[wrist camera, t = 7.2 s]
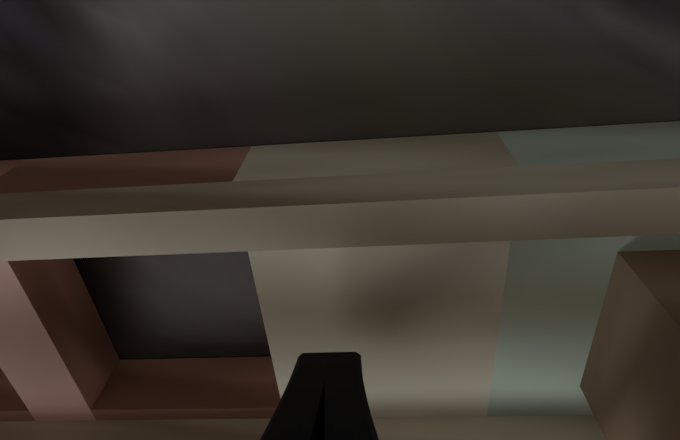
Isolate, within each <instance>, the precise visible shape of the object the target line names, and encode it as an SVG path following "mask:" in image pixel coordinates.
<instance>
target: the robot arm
mask: <svg viewBox="0 0 680 440" xmlns="http://www.w3.org/2000/svg"><path fill="white" fill-rule="evenodd" d="M260 440H379V438H378V435H377V432H376V429H375V426H374V422H373V419H372V416H371V412H370V409H369V405H368V401H367V396H366V392H365V387H364V382H363V375H362V362H361V355H360V354H358V353H357V352H321V353H302V354H301V355H300V356H298V359H297V362H296V365H295V367H294V370H293V372H292V375H291V377H290V380H289V382H288V384H287V387H286V389H285V391H284V393H283V395H282V397H281V400H280V402H279V404H278V406H277V408H276V410H275V412H274V414H273V416H272V418H271V420H270V422H269V424H268V426H267V427H266V429H265V431H264V433H263V435H262V437H261V439H260Z"/></svg>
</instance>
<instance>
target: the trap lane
mask: <svg viewBox="0 0 680 440" xmlns="http://www.w3.org/2000/svg"><path fill="white" fill-rule="evenodd" d="M679 249H680V121H673V122H656V123H639V124H622V125H605V126H588V127H570V128H553V129H536V130H519V131H502V132H485V133H468V134H450V135H433V136H416V137H399V138H382V139H365V140H348V141H330V142H313V143H296V144H279V145H262V146H245V147H228V148H210V149H193V150H176V151H159V152H142V153H125V154H108V155H90V156H73V157H56V158H39V159H22V160H5V161H0V440H260V439H261V437H262V435H263V433H264V431H265V429H266V427H267V426H268V424H269V422H270V420H271V418H272V416H273V414H274V412H275V410H276V408H277V406H278V404H279V402H280V400H281V397H282V395H283V393H284V391H285V389H286V387H287V384H288V382H289V380H290V377H291V375H292V372H293V370H294V367H295V365H296V362H297V359H298V356H300V355H301V354H302V353H321V352H357V353H358V354H360V355H361V362H362V375H363V382H364V387H365V392H366V396H367V401H368V405H369V409H370V412H371V416H372V419H373V422H374V426H375V429H376V432H377V435H378V438H379V440H606V439H605V437H604V435H603V433H602V431H601V429H600V427H599V425H598V423H597V420H596V418H595V416H594V414H593V412H592V410H591V408H590V406H589V404H588V402H587V400H586V398H585V396H584V394H583V392H582V390H581V388H580V383H581V380H582V376H583V372H584V369H585V365H586V362H587V358H588V355H589V351H590V348H591V344H592V341H593V337H594V334H595V330H596V326H597V323H598V319H599V316H600V312H601V309H602V305H603V302H604V298H605V295H606V291H607V287H608V284H609V280H610V277H611V273H612V270H613V266H614V263H615V259H616V256H617V252H626V251H653V250H679ZM244 251H248V254H249V259H250V263H251V268H252V272H253V277H254V281H255V286H256V290H257V295H258V299H259V304H260V308H261V313H262V317H263V322H264V326H265V331H266V335H267V340H268V344H269V349H270V353H271V356H268V357H221V358H175V359H129V360H120V359H119V357H118V354H117V352H116V350H115V348H114V346H113V344H112V342H111V339H110V337H109V335H108V333H107V331H106V329H105V326H104V324H103V322H102V320H101V318H100V316H99V314H98V311H97V309H96V307H95V305H94V303H93V301H92V299H91V296H90V294H89V292H88V290H87V288H86V286H85V283H84V281H83V279H82V277H81V275H80V273H79V271H78V268H77V266H76V264H75V262H74V260H73V258H94V257H119V256H144V255H169V254H194V253H219V252H244Z"/></svg>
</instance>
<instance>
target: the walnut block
mask: <svg viewBox="0 0 680 440" xmlns="http://www.w3.org/2000/svg"><path fill="white" fill-rule="evenodd" d="M580 388H581V390H582V392H583V394H584V396H585V398H586V400H587V402H588V404H589V406H590V408H591V410H592V412H593V414H594V416H595V418H596V420H597V423H598V425H599V427H600V429H601V431H602V433H603V435H604V437H605V439H606V440H680V249H679V250H653V251H626V252H617V256H616V259H615V263H614V266H613V270H612V273H611V277H610V280H609V284H608V287H607V291H606V295H605V298H604V302H603V305H602V309H601V312H600V316H599V319H598V323H597V326H596V330H595V334H594V337H593V341H592V344H591V348H590V351H589V355H588V358H587V362H586V365H585V369H584V372H583V376H582V380H581V383H580Z"/></svg>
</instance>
